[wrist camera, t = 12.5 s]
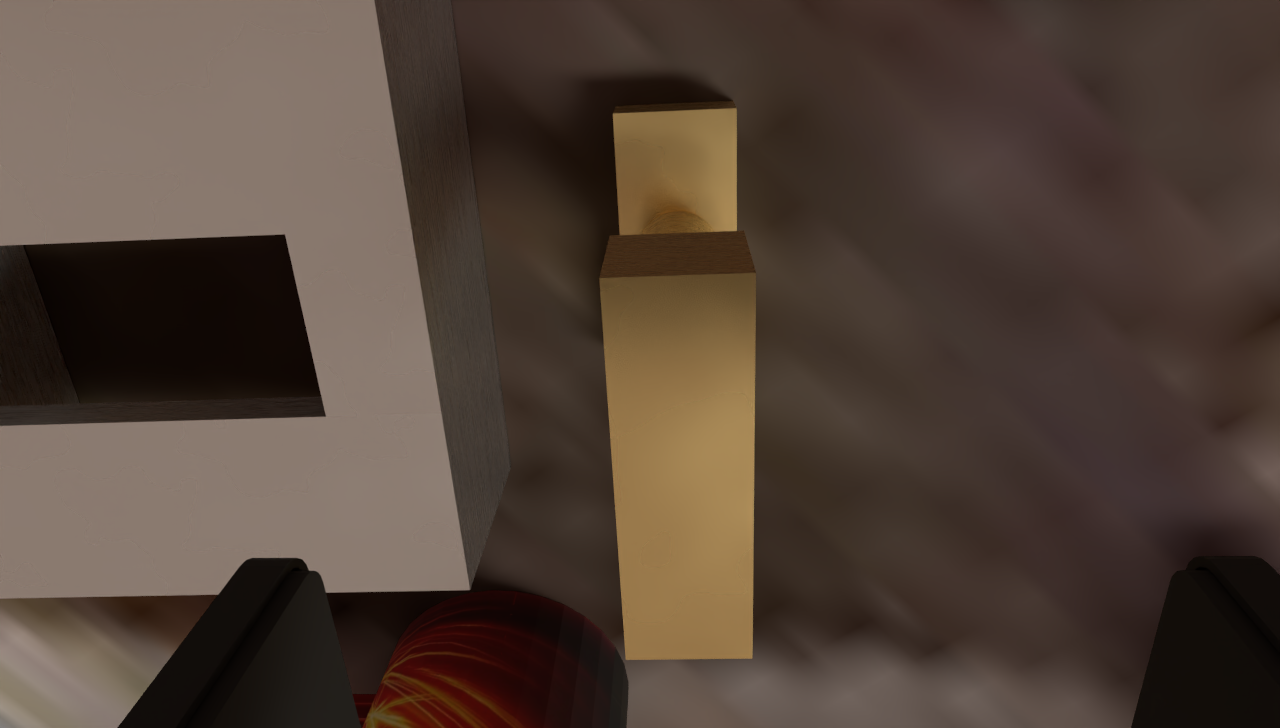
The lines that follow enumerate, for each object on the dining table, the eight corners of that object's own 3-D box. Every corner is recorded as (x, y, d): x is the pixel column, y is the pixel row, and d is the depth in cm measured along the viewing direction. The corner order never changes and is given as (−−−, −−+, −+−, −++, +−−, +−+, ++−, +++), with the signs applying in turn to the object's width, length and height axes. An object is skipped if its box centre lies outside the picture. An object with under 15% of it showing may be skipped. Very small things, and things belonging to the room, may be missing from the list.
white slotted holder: (446, -33, 24) (368, -38, 18) (511, 466, 30) (470, 590, 24) (-106, -3, 24) (-365, 3, 18) (73, 477, 31) (-74, 599, 25)
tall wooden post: (732, 100, 25) (800, 236, 12) (733, 353, 28) (786, 679, 15) (616, 105, 25) (554, 245, 12) (630, 355, 28) (593, 681, 15)
